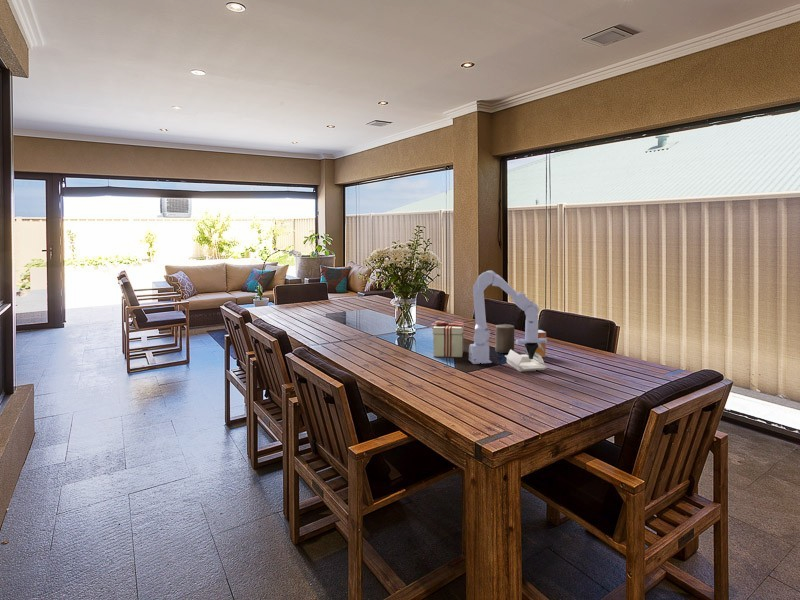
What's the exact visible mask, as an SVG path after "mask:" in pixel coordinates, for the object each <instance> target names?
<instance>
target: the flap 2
mask: <svg viewBox="0 0 800 600" xmlns="http://www.w3.org/2000/svg"><path fill="white" fill-rule="evenodd" d="M533 359H535V360H537V361H538V362H540V363H542V364H543V365H545V361H544V358H542V356H541V355H539V354H537V353H536V352H535V353H534V357H533Z"/></svg>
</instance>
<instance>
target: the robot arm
mask: <svg viewBox="0 0 800 600" xmlns="http://www.w3.org/2000/svg"><path fill="white" fill-rule="evenodd" d="M472 286H473V287H472V294H473V295H472V296H473V309H474V319H475V326H474V334H473V343H470V344H469V346H468V361H470V362H471V364H473V365H477V364H478V365H479V364H480V363H481V364H491V363H493V361H492V360H490V341H489V339H490V338H491V332H490V330H489V327H488V324H487V320H486V319H487V317H486V316H487V315H486V304H485V293H484V291H485V290H486V289H487V287H488V286H492V287H498V288H500V289H501V290H503V291H504V292H505V293H506V294H507V295H508V296H510V298H511V299H512V300H511V301H512V302H513V304H514V305H516V306H517V307H518V308H519V309H520V310H521V311H524V315H525V325H524V326H525V327H524V330H525V331H524V337H525V338H520V339H515V345H518V346H519V345H524V347H526V349H527V352H528V356H529V359H534V358H533V357H534V353H535V351H536V349H537V348H538V344H537V343H546V344H547V343H548V338H547V337H546V338H538V330H539V315H538V314H539V312H540V308H539V306H538V304H537V303H535V302H534V301H533V300H530V299H529V298H528V297H527V296H526V295H527V294H526V293H524V292H517V291H516V289H514V288H513V287H512V286H511V285H510V284H509V283H508V282H507V281H505V279H504V278H503V277H502V276H501V275H499V274H497V273H496V272H495V271H494V270H492V269H491V270H486V271H484V272H482V273H481V274H479V275H478V277H477V279H476V281H475V282H474V284H473V285H472ZM481 364H480V365H481Z"/></svg>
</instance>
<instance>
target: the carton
mask: <svg viewBox="0 0 800 600" xmlns="http://www.w3.org/2000/svg"><path fill="white" fill-rule="evenodd" d="M520 355H521V356H522V357H523V358H522V360H521V363H520V365H519V366H518V365H516V364H515V363H513V362H512V361H510V360H509V359H508V358H507V356H508V354H505V355H504V357H505V358H506V363H507V364H508V365H509V366H510V367H512V368H513V367H514V368H513V369H515V370H517V372H519V373H520V372H521V373H522V372H533V371H534V372H537V371H536V370H538V371H545V369H548V368H549V367H548V366H547V365H545V364H543V363H541V362H539V361H538V360H536V359H534V358H533V359H529V356H528V355H526V354H525V353H523V354H520Z"/></svg>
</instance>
